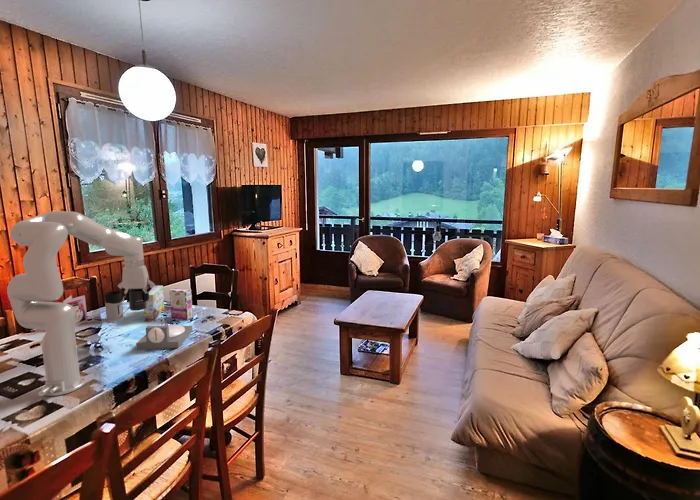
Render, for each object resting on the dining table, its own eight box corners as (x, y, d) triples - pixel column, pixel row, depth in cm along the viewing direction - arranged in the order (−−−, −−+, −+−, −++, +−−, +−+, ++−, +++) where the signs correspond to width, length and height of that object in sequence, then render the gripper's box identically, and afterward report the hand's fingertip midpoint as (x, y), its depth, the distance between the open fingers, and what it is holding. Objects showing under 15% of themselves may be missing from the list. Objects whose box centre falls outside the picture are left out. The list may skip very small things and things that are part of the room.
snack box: (155, 321, 199) (153, 294, 197) (143, 322, 198) (141, 295, 196) (165, 309, 220) (163, 284, 217) (155, 309, 218) (153, 285, 216)
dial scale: (177, 348, 165) (176, 327, 163) (135, 350, 163) (134, 328, 162) (192, 331, 185) (191, 312, 184) (155, 332, 184) (153, 313, 182)
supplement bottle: (139, 311, 167) (137, 286, 165) (126, 310, 168) (124, 285, 166) (150, 306, 173) (148, 282, 172) (137, 306, 175) (135, 281, 173)
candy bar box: (193, 317, 206) (192, 289, 203) (187, 320, 201) (185, 291, 198) (177, 315, 209) (175, 287, 206) (170, 318, 204) (168, 289, 201)
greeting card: (67, 329, 186) (64, 301, 184) (56, 328, 188) (53, 300, 186) (88, 322, 197) (86, 295, 194) (78, 320, 199) (75, 294, 196)
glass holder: (113, 316, 206) (110, 290, 204) (137, 317, 205) (135, 291, 203) (102, 321, 197) (99, 295, 195) (127, 322, 197) (125, 295, 194)
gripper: (110, 265, 162) (113, 304, 165) (151, 265, 165) (154, 303, 168) (118, 262, 170) (121, 299, 173) (157, 261, 172) (160, 298, 175)
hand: (137, 300), depth 170 cm, fingers closed on supplement bottle, 6 cm apart
